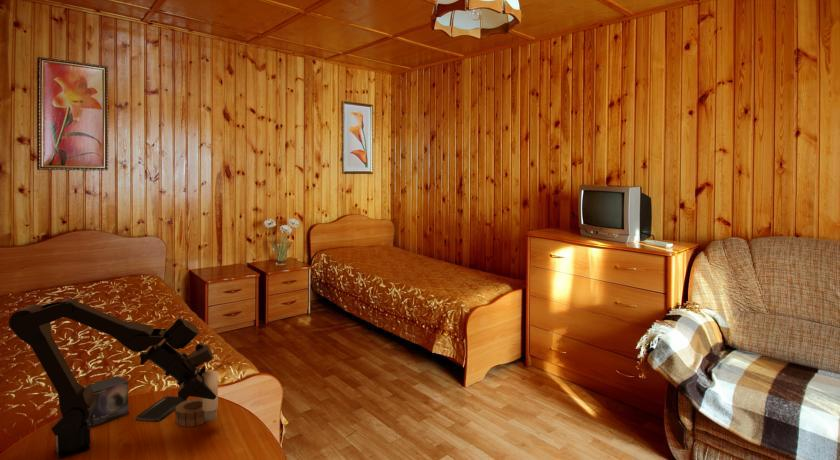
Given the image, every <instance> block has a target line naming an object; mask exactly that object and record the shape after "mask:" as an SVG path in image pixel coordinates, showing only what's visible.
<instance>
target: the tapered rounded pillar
mask: <svg viewBox="0 0 840 460" xmlns="http://www.w3.org/2000/svg"><path fill="white" fill-rule="evenodd" d="M203 376H204V383H205V384H206V385H207V386H208V387H209V388H210V389H211V390H212V392H213V393H214V394H215V395H216V398H215V399H214V400H212V399H206V398H201V399H202V410H203V411H204V420H205V421H207V422H212V421H215V420H217V415H218V414H217V409H218V408H219V393H218V392H219V383H218V382H219V381H218V380H219V379H218V378H219V372H218V371H217V370H207V371H206V370H205V372H204V373H202V377H203Z"/></svg>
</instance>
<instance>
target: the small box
mask: <svg viewBox="0 0 840 460" xmlns="http://www.w3.org/2000/svg"><path fill="white" fill-rule="evenodd" d="M88 385H91V387H92V390H93V392H94V394H95V395H97V396H98V397H97V398H96V406H95V409H94V410H93V412H92V413H91V415H90V416H89V418H88V419H87V420H86V421H85V422H86V423H87V426H88V427H89V428H94V427H97V426H99V425H102V424H104V423H107V422H110V421H112V420H115V419H118V418H122V417H124V416H127V415H129V414H130V412H129V411H130V409H129V405H130V404H129V380H128V379H125V378H123V377H121V376H118V375H116V376H113V377H110V378H107V379H103V380H99V381H97V382H93V383H89V384H86V385H82V386H83V387H86V386H88Z"/></svg>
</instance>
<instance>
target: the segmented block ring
mask: <svg viewBox="0 0 840 460" xmlns="http://www.w3.org/2000/svg"><path fill="white" fill-rule="evenodd" d="M174 412H175V424H176V425H177V426H179V427H184V428H185V427H186V428H189V427H195V426H196V427H197V426H200V425H203V424H204V423H205V424H206V423H207V422H208V421H205V420H204V411H203V410H202V398H200V397H197V398H192V399H187V401H184V402H182V403H180V404H178V405H177V406H176V408H175V411H174Z"/></svg>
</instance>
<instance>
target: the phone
mask: <svg viewBox="0 0 840 460" xmlns="http://www.w3.org/2000/svg"><path fill="white" fill-rule="evenodd" d="M187 400H188V398H187V399H186V400H185V401H187ZM182 402H184V401H183V400H181V399H180V398H179V397H178V396H171V395H167V396H164V397H163V398H161V399H159V400H158V401H156V402H155V403H153V404H151V405H150V406H149V407H148V408H147V409H145V410H144V411H142V412H141V413H139V414H137V415H136V416H135V420H136V421H137V422H150V423H151V422H152V423H160V422H162V421H163V420H164V419H165V418H167V417H169V415H171V414H172V413H174V412H175V408H176V406H177V405H178V404H180V403H182Z"/></svg>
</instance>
